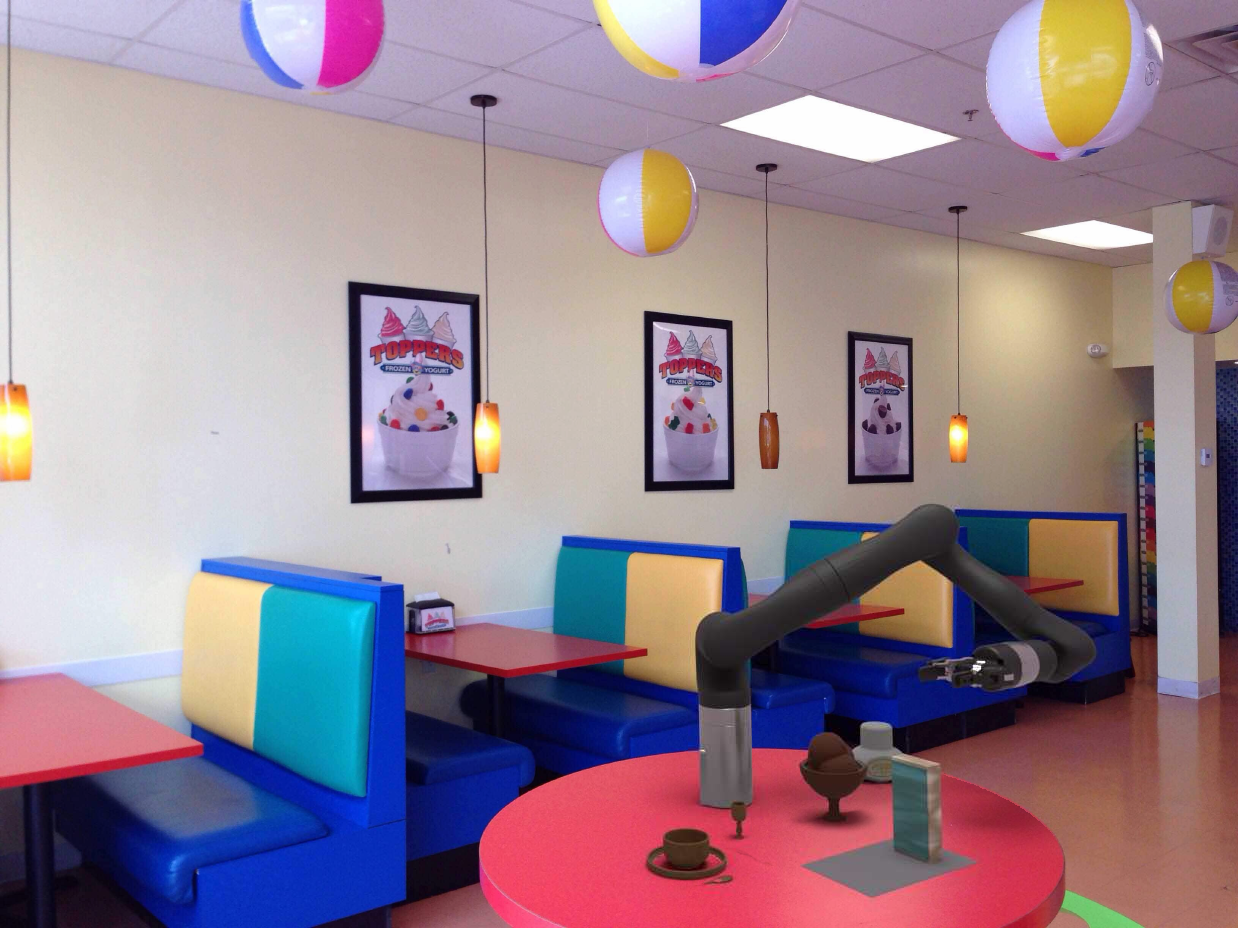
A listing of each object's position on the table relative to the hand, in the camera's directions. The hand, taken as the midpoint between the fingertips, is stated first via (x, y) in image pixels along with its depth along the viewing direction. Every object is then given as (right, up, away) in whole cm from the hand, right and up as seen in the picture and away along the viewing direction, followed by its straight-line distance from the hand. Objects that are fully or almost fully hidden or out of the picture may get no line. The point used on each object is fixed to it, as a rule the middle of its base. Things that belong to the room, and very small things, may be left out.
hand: (936, 677), depth 162 cm
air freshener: (-1, -26, +32) cm, 41 cm away
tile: (-6, -24, -10) cm, 27 cm away
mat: (-11, -25, -13) cm, 30 cm away
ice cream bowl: (-15, -26, +7) cm, 30 cm away
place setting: (-37, -26, -8) cm, 46 cm away
